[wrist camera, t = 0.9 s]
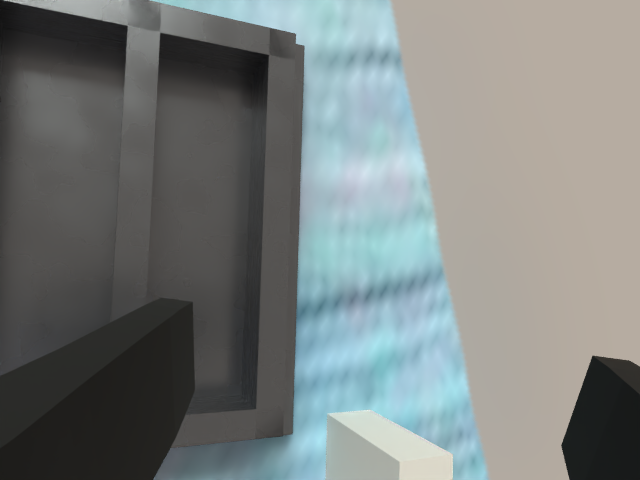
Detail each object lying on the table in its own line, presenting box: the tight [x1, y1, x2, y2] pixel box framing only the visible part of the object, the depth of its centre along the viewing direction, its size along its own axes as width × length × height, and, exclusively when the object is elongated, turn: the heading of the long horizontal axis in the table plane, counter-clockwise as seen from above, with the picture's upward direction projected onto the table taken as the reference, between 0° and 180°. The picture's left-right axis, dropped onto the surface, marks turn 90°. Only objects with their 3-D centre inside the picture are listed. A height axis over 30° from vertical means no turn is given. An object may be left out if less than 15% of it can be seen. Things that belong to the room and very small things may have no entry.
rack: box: [0, 0, 304, 448], centre depth 19 cm, size 19×21×4 cm
